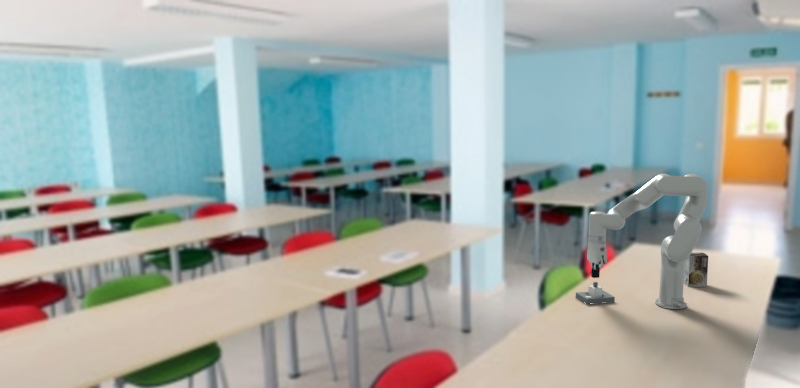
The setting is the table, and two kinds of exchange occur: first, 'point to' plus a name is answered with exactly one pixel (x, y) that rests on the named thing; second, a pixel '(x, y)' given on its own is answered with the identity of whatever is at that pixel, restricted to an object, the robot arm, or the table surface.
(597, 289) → the plug
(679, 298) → the robot arm
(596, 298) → the socket plate
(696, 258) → the coffee box
